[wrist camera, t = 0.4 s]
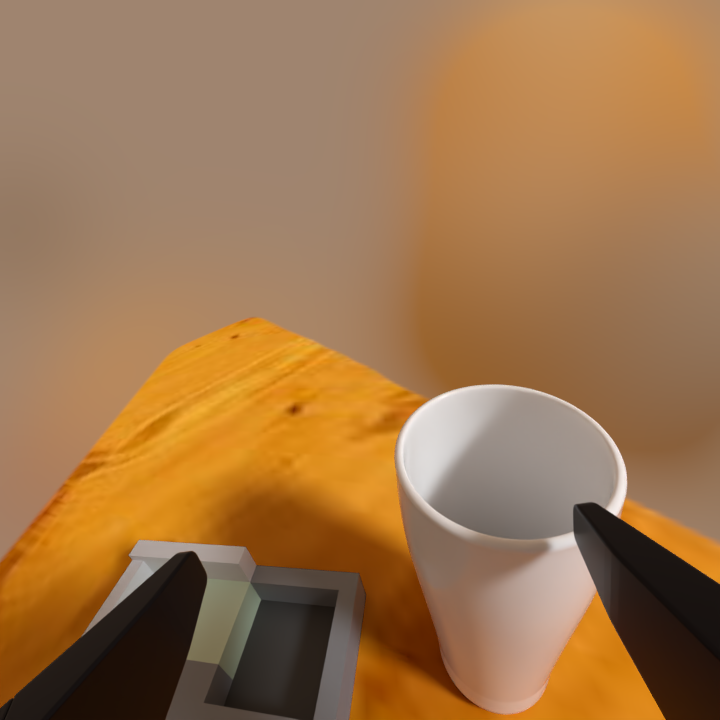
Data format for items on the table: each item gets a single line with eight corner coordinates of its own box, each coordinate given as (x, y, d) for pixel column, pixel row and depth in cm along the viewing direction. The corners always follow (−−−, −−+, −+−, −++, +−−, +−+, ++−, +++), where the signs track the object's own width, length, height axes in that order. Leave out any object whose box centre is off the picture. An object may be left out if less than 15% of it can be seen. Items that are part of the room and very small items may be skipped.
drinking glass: (445, 566, 23) (427, 371, 16) (567, 610, 20) (623, 396, 12) (408, 693, 19) (355, 504, 11) (562, 777, 15) (647, 599, 8)
